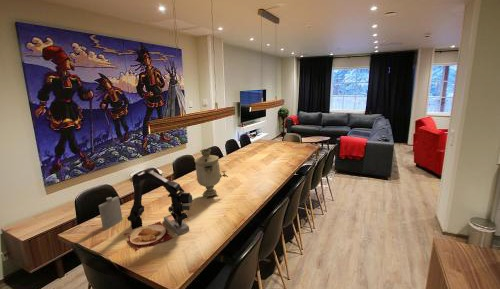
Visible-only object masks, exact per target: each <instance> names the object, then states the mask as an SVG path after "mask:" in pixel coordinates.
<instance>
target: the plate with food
mask: <svg viewBox="0 0 500 289" xmlns="http://www.w3.org/2000/svg"><path fill="white" fill-rule="evenodd" d="M129 234H130V232H125V233H124V234H123V236H127V235H128V236H127V239H128V240H127V239H126V243H127V244H130V247H128V248H129V249H132V250H134V252H137V251H140V250H139V249H142V248H143V247H145V248H146V249H147V246H148V248H150V247H154V246H155V245H157V244H156V243H163V242H166V241H168V240H169V239H172V238H173V237H172V236H171V235H170V233H169V231H168V229H167V228H166V226H165V225H164V224H163V223H162V222H161V220H159V221H157V222H155V223H152V224H148V225H145V226H141V227H139V228H137V229H135V231H133V232H132V233H131V234H130V235H131V236H129Z"/></svg>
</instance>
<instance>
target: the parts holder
mask: <svg viewBox="0 0 500 289" xmlns="http://www.w3.org/2000/svg"><path fill="white" fill-rule="evenodd" d="M163 221H164V223H165V224H166V225H167V226H168V227H169V228H170V229H171V231H172V232H173V234H175V236H179V235H181V234H182V235H183V234H185V233H187V232H190V226H189V224H187V222H185V221H184V220H182V221H183V224H184V226H182V227H179V228H176V227H175V223H174V221H175V219H174V218H173V216H172V215H171V214H170V215H166V216H163Z"/></svg>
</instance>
